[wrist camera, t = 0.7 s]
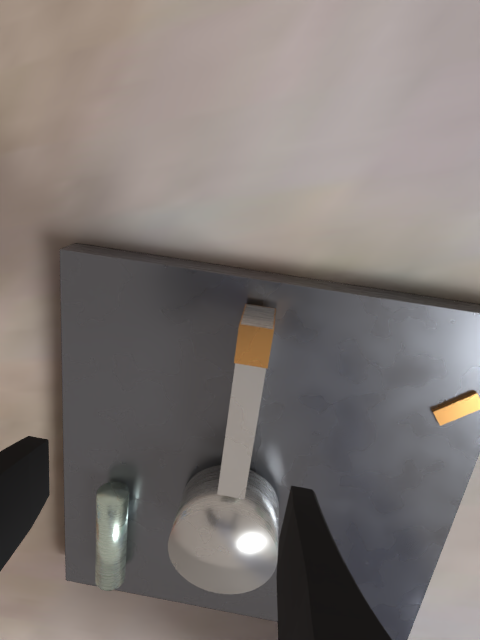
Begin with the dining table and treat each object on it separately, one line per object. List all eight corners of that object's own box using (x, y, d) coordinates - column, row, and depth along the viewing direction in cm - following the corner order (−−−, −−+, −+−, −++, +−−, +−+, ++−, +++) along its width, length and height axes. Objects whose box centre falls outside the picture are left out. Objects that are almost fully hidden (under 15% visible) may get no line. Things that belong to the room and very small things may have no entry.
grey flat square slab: (398, 620, 26) (411, 677, 24) (77, 558, 28) (52, 605, 25) (513, 309, 19) (552, 336, 16) (75, 243, 21) (40, 256, 18)
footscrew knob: (271, 550, 23) (268, 603, 21) (179, 532, 24) (164, 582, 21) (319, 313, 19) (324, 340, 16) (203, 295, 19) (188, 318, 16)
